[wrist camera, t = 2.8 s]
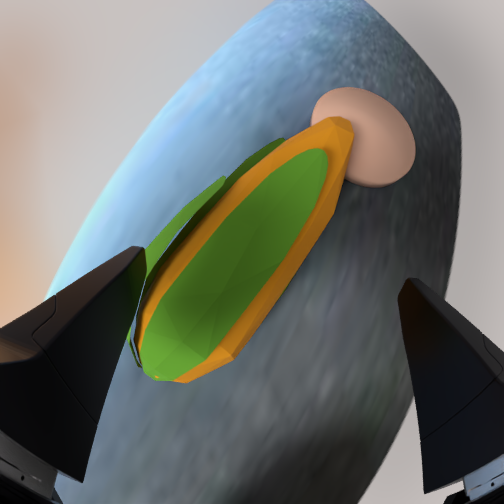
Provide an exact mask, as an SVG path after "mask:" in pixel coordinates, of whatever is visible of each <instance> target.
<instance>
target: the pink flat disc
mask: <svg viewBox="0 0 504 504" xmlns="http://www.w3.org/2000/svg"><path fill="white" fill-rule="evenodd" d="M333 116H340V117H342V118H345V119H347V120H349V121H350V122H351V125H352V128H353V131H354V134H355V135H354V141H353V146H352V150H351V154H350V158H349V162H348V166H347V169H346V173H345V177H344V179H345V180H347V181H349V182H351V183H354V184H357V185H359V186H363V187H369V188H381V187H386V186H389V185H391V184H393V183H395V182H396V181H398V180H399V179H400V178H401V177H403V176H404V175H405V174H406V173H407V172H408V171H409V170H410V168H411V167H412V165H413V162H414V159H415V141H414V137H413V134H412V131H411V129H410V127H409V125H408V123H407V122H406V120H405V119H404V117H403V116H402V115H401V114H400V112H399V111H398V110H397V109H396V108H395V107H394V106H393V105H391V104H390V103H389V102H388V101H386V100H385V99H383V98H382V97H380V96H378V95H376V94H374V93H372V92H369V91H367V90H363V89H359V88H352V87H343V88H337V89H334V90H331V91H329V92H327V93H326V94H324V95H323V96H322V97H321V98H320V99H319V100H318V102H317V104H316V106H315V108H314V111H313V113H312V116H311V119H310V127H311V126H312V125H314V124H316V123H318V122H320V121H321V120H323V119H325V118H327V117H333Z"/></svg>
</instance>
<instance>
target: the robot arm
mask: <svg viewBox="0 0 504 504" xmlns="http://www.w3.org/2000/svg"><path fill="white" fill-rule="evenodd" d="M146 274H147V263H146V254H145V249H144V248H143V247H139V246H131V247H129V248H128V249H126V250H124V251H123V252H121V253H119V254H118V255H116V256H114V257H113V258H111V259H109V260H108V261H106V262H105V263H103V264H101V265H100V266H98V267H97V268H95V269H93V270H92V271H90V272H89V273H87V274H86V275H84V276H82V277H81V278H79V279H78V280H76V281H75V282H73V283H72V284H70V285H68V286H67V287H65V288H64V289H62V290H61V291H59V292H58V293H56V295H53V296H52V297H50V298H49V299H47V300H46V301H44V302H43V303H41V304H40V305H38V306H37V307H35V308H34V309H32V310H30V311H29V312H27V313H25V314H24V315H22V316H20V317H19V318H17V319H15V320H13V321H12V322H10V323H8V324H7V325H5V326H3V327H2V328H0V504H63V502H62V501H61V499H60V497H59V495H58V494H57V492H56V490H55V488H54V485H55V481H56V477H57V473H59V474H61V475H63V476H66V477H68V478H71V479H73V480H75V481H78V482H80V483H83V481H84V477H85V473H86V469H87V464H88V460H89V456H90V452H91V449H92V445H93V441H94V437H95V434H96V430H97V427H98V426H97V425H98V423H99V419H100V416H101V412H102V409H103V406H104V402H105V399H106V396H107V393H108V390H109V387H110V384H111V381H112V378H113V375H114V372H115V369H116V366H117V363H118V360H119V357H120V354H121V351H122V349H123V346H124V343H125V340H126V338H127V335H128V332H129V330H130V327H131V324H132V322H133V319H134V316H135V314H136V310H137V307H138V303H139V299H140V296H141V292H142V288H143V285H144V281H145V277H146ZM398 307H399V313H400V320H401V328H402V335H403V340H404V345H405V349H406V354H407V359H408V364H409V369H410V374H411V380H412V385H413V391H414V397H415V404H416V410H417V418H418V425H419V434H420V441H421V442H420V444H421V455H422V469H423V489H424V494H427V493H430V492H433V491H436V490H439V489H441V488H444V487H447V486H450V485H452V484H455V483H457V482H460V481H462V480H463V484H464V490H461V491H459V492H457V493H454V494H452V495H449V496H447V498H446V500H445V501H444V503H443V504H504V352H503V351H502V350H500V348H498V347H497V346H496V345H495V344H494V343H493V342H492V341H491V340H490V339H488V338H487V337H486V336H485V335H484V334H482V332H480V330H479V329H477V328H476V327H475V326H474V325H473V324H472V323H471V322H469V321H468V320H467V319H466V318H465V317H464V316H463V315H461V314H460V313H459V312H458V311H457V310H456V309H455V308H453V307H452V306H451V305H450V304H448V303H447V302H446V301H445V300H444V299H443V298H441V297H440V296H439V295H438V294H437V293H435V292H434V291H433V290H432V289H431V288H429V287H428V286H427V285H426V284H424V283H423V282H422V281H421V280H419V279H417V278H408V279H407V280H406V281H405V283H404V285H403V287H402V289H401V291H400V293H399V295H398Z"/></svg>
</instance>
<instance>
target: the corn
mask: <svg viewBox="0 0 504 504" xmlns="http://www.w3.org/2000/svg"><path fill="white" fill-rule="evenodd" d="M354 135H355V134H354V131H353V128H352V125H351V122H350V121H349V120H347V119H345V118H342V117H340V116H333V117H327V118H325V119H323V120H321V121H320V122H318V123H316V124H314V125H312V126H311V127H309V128H307V129H305V130H304V131H302V132H300V133H298V134H297V135H295V136H293V137H291V138H290V139H288V140H286V141H285V139H284V138H279V139H277V140H275V141H273V142H271V143H269V144H268V145H266V146H265V147H263V148H262V149H260V150H259V151H258V152H256V153H255V154H253V155H252V156H250V157H249V158H248V159H246V160H245V161H244V162H243V163H242V164H241V165H240V166H239V167H238V168H237V169H236V170H235V171H234V172H233V173H232V174H231V175H230V176H229V177H228V178H227V179H226V177H225V176H224V175H223V176H222V177H221V178H219V179H218V180H217V181H216V182H214V183H213V184H212V185H211V186H209V187H208V188H207V189H206V190H204V191H203V192H202V193H201V194H199V195H198V196H197V197H196V198H194V199H193V200H192V201H191V202H190V203H188V204H187V205H186V206H185V207H184V208H183V209H182V210H181V211H180V212H179V213H178V214H177V215H176V216H175V217H174V218H173V219H172V220H171V222H170V223H169V224H168V225H167V226H166V227H165V228H164V229H163V230H162V231H161V232H160V234H159V235H158V236H157V237H156V238H155V239H154V240H153V241H152V242H151V244H150V245H149V246H148V247H147V248H146V249H145V254H146V263H147V274H146V277H145V279H146V281H145V285H144V289H143V292H142V296H141V300H140V304H139V307H138V311H137V315H136V329H135V334H134V343H135V347H136V351H137V354H138V358H139V361H140V363H141V364H142V366H143V370H144V373H146V374H147V375H148V376H150V377H151V378H152V379H154V380H155V381H175V382H181V383H188V382H190V381H192V380H194V379H196V378H199V377H201V376H203V375H205V374H207V373H209V372H211V371H213V370H215V369H217V368H219V367H221V366H223V365H225V364H227V363H229V362H230V361H232V360H234V359H235V358H236V357H237V355H238V354H239V353H240V351H241V350H242V349H243V348H244V346H245V345H246V344H247V342H248V341H249V340H250V338H251V337H252V336H253V334H254V333H255V331H256V330H257V329H258V327H259V326H260V324H261V323H262V321H263V320H264V319H265V317H266V316H267V314H268V313H269V311H270V310H271V309H272V307H273V306H274V304H275V303H276V302H277V301H278V299H279V298H280V297H281V295H282V294H283V293H284V291H285V290H286V288H287V287H288V285H289V283H290V282H291V280H292V278H293V277H294V275H295V274H296V272H297V270H298V269H299V267H300V266H301V264H302V262H303V261H304V259H305V258H306V256H307V255H308V253H309V252H310V250H311V249H312V247H313V246H314V244H315V243H316V241H317V239H318V238H319V236H320V235H321V233H322V232H323V230H324V228H325V227H326V225H327V224H328V222H329V221H330V219H331V217H332V216H333V214H334V211H335V208H336V205H337V201H338V198H339V194H340V191H341V187H342V184H343V180H344V177H345V173H346V169H347V166H348V162H349V158H350V154H351V150H352V146H353V141H354ZM225 179H226V180H225ZM192 216H193V217H192ZM191 217H192V218H191ZM190 218H191V219H190ZM189 219H190V220H189ZM188 220H189V222H188V223H187V224H186V225H185V227H184V228H183V229H182V230H181V232H180V233H179V234H178V235H177V237H176V238H175V239H174V241H173V242H172V243H171V244H170V246H169V247H168V248H167V250H166V251H165V252H164V250H165V249H166V247H167V246H168V244H169V243H170V241H171V240H172V238H173V237H174V235H175V234H176V233H177V231H178V230H179V229H180V228H181V227H182V226H183V225H184V224H185V223H186V222H187V221H188ZM163 252H164V253H163ZM162 253H163V255H162ZM161 255H162V256H161ZM160 256H161V257H160ZM159 258H160V259H159ZM158 259H159V260H158ZM156 262H157V263H156ZM130 331H131V327H130V330H129V332H128V335H127V341H128V343H129V346H130V348H131V351H132V354H133V356H134V359H135V361H136V364H137V366H138V367H141V365H140V364H139V363H138V361H137V359H136V356H135V352H134V349H133V346H132V342H131V339H130ZM141 368H142V367H141Z"/></svg>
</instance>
